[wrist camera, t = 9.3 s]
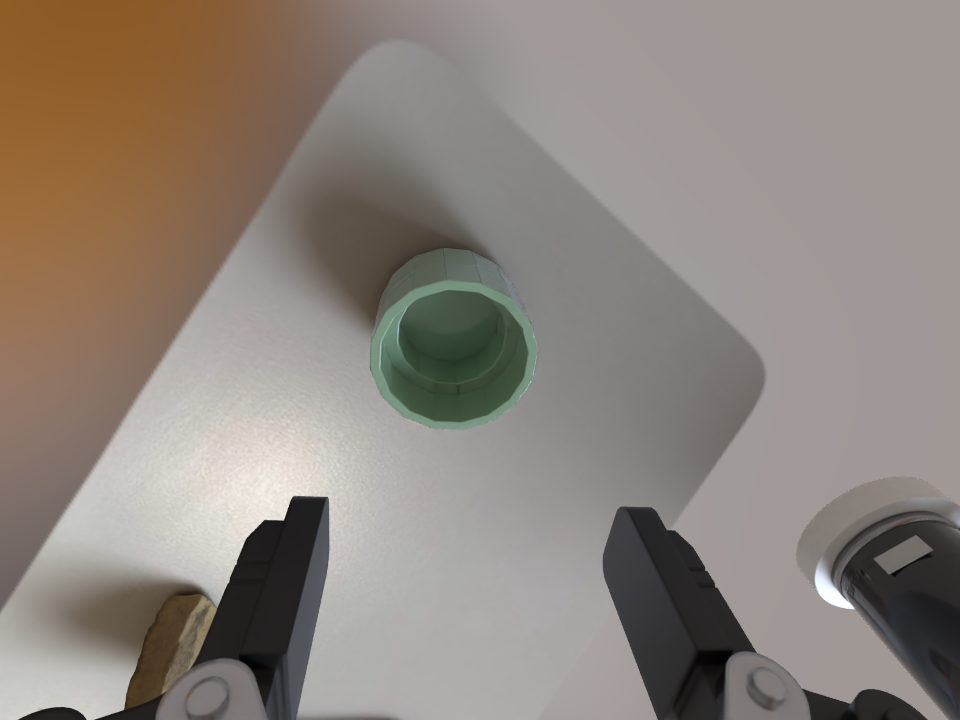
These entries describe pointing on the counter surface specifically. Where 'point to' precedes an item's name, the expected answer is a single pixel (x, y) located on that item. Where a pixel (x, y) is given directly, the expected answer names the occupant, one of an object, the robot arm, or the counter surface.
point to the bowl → (452, 341)
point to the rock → (170, 646)
